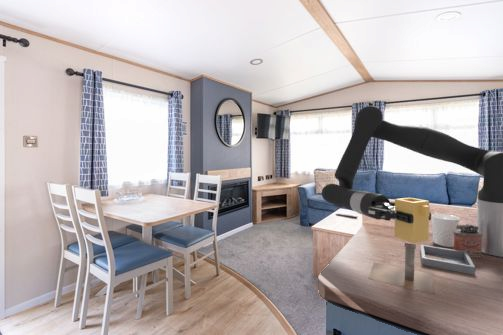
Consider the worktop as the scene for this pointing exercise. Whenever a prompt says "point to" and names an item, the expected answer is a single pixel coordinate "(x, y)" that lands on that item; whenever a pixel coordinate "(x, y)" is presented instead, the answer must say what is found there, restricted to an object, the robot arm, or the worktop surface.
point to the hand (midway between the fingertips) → (421, 217)
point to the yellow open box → (420, 225)
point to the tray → (448, 259)
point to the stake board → (404, 273)
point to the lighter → (468, 240)
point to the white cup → (444, 229)
